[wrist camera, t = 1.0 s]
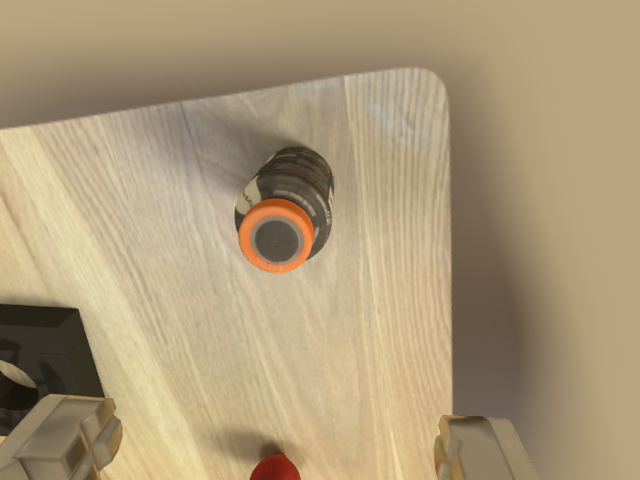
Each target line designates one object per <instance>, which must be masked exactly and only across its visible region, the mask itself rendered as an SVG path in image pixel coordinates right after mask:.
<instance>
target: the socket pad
mask: <svg viewBox="0 0 640 480" xmlns="http://www.w3.org/2000/svg"><path fill="white" fill-rule="evenodd" d="M0 360H2V361H4V362H7V363H10V364H13V365H14V366H16V367H17V368H19V369H20V370H22V371H24V372H25V373H26V374H27V375H28V376H29V377H30V378H31V379H32V380H33V381H34V382H35V385H36V387H37V389H35V388H28V387H25V386H22V385H19V384H16V383H14V382H13V381H11V380H10V379H8V378H6V377H5V376H4V375H3V374H2V373H1V372H0V436H8V435H9V434H10V433H11V432H12V431H13V430H14V429H15V427H16V426H17V425H18V424H19V423H20V422H21V421H22V420H23V419H24V418H25V417H26V415H27V414H28V413H29V412H30V411H31V410H32V409H33V408H34V407H35V406H36V404H37V403H38V402H39V401H40V400H41V399H42V398H44V397H46V396H47V395H49V394H58V395H73V396H85V397H97V398H105V396H104V393H103V390H102V386H101V383H100V380H99V376H98V373H97V370H96V367H95V363H94V360H93V357H92V353H91V350H90V347H89V344H88V340H87V337H86V334H85V331H84V328H83V324H82V321H81V318H80V314H79V311H78V309H68V308H52V307H36V306H19V305H3V304H0Z"/></svg>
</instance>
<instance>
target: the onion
mask: <svg viewBox="0 0 640 480" xmlns="http://www.w3.org/2000/svg"><path fill="white" fill-rule="evenodd" d="M250 480H301V478H300V475H299V472H298V470H297V468H296V467H295V466H294V464H293V463H292V462H291V461H290V460H289V459H288V458H286V456H285V455H284V454H282V453H278V454H274V455H271V456H268V457H266V458H265V459H263V460H262V461H261V462H260V463H259V464H258V465H257V466H256V468H255V469H254V470H253V472H252V474H251V477H250Z"/></svg>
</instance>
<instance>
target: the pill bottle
mask: <svg viewBox="0 0 640 480" xmlns="http://www.w3.org/2000/svg"><path fill="white" fill-rule="evenodd" d="M333 195H334V178H333V173H332V171H331V168H330V166H329V165H328V163H327V162H326V161H325V160H324V158H323V157H322V156H320V155H319V154H318V153H316V152H315V151H313V150H310V149H308V148H303V147H289V148H284V149H282V150H280V151H278V152H276V153H275V154H274V155H272V156H271V157H270V158H269V159H268V161H267V162H266V163H265V164H264V166H263V167H262V168H261V169H260V170H259V172H258V173H257V174H256V175H255V176H254V177H253V179H252V180H251V181H250V182H249V183H248V185H247V186H246V188H245V189H244V190H243V192H242V193H241V195H240V197H239V199H238V201H237V204H236V207H235V225H236V229H237V232H238V238H239V245H240V248H241V250H242V252H243V254H244V256H245V257H246V258H247V260H248V261H250V262H251V263H252V264H253V265H254V266H256V267H258V268H260V269H262V270H265V271H267V272H273V273H283V272H288V271H291V270H294V269H296V268H297V267H299V266H300V265H301V264H302V263H303V262H304V261H306V260H308V259H310V258H311V257H313V256H314V255H315V254H317V253H318V252H319V251H320V250H321V249H322V247H323V246H324V244H325V243H326V241H327V239H328V237H329V234H330V230H331V222H332V211H333Z"/></svg>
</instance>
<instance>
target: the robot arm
mask: <svg viewBox="0 0 640 480" xmlns="http://www.w3.org/2000/svg"><path fill="white" fill-rule="evenodd" d="M115 409H116V406H115V404H114V401H113V399H109V398H97V397H85V396H73V395H58V394H49V395H47V396H46V397H44V398H42V399H41V400H40V401H39V402H38V403H37V404H36V406H35V407H34V408H33V409H32V410H31V411H30V412H29V413H28V414H27V415H26V417H25V418H24V419H23V420H22V421H21V422H20V423H19V424H18V425H17V426H16V427H15V429H14V430H13V431H12V432H11V433H10V434H9V435H8V436H7V437H6V438H5V439H4V441H3V442H2V443H1V444H0V480H101V478H100V470H101V469H103V468H104V467H105V466H107V465H108V464H109V463H111V462H112V460H113V458H114V457H115V455H116V453H117V451H118V449H119V446H120V443H121V439H122V425H121V421H120V420H119V419H118V418H117V417H115V416H114V415H113V412H114V411H115ZM439 429H440V433H441V434H440V435H439V436H438V437H436V439H435V444H434V463H435V470H436V474H437V479H438V480H539V478H538V476H537V474H536V472H535V470H534V468H533V466H532V464H531V462H530V460H529V458H528V456H527V453H526V452H525V449H524V447H523V445H522V443H521V441H520V439H519V437H518V435H517V433H516V431H515V429H514V427H513V426H512V423H511V422H510V421H509V420H508V419H506V418H489V417H485V418H484V417H478V416H477V417H476V416H452V415H443V416H442V417H441V418H440V421H439Z"/></svg>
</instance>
